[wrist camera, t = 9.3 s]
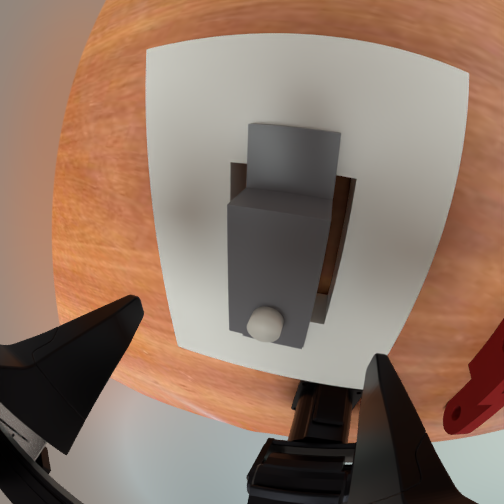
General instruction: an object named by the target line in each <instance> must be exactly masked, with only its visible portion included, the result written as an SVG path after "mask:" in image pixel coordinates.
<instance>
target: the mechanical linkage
mask: <svg viewBox="0 0 504 504" xmlns="http://www.w3.org/2000/svg"><path fill="white" fill-rule="evenodd" d="M468 366H469V370H470V374H471V380H470V381H469V382H468V383H467V384H466V385H465V386H464V387H463V388H462V389H461V390H460V391H459V392H458V393H457V394H456V395H455V396H454V397H453V398H452V399H451V400H450V401H449V402H448V403H447V406H446V408H445V411H444V416H443V426H444V429H445V431H446V432H447V433H448V434H450V435H455V434H468V433H470V432H472V431H473V430H475V429H476V428H477V427H479V426H480V425H481V424H483V423H484V422H485V421H486V420H488V419H489V418H490V417H491V416H493V415H494V414H495V413H496V412H497V411H499V410H500V409H501V408H502V407H503V406H504V319H503V320H502V322H501V323H500V325H499V326H498V328H497V329H496V330H495V332H494V333H493V334H492V336H491V337H490V338H489V340H488V341H487V342H486V344H485V345H484V346H483V348H482V349H481V350H480V351H479V353H478V354H477V355H476V356H475V357H474V359H473V360H472V361H471V362H470V363H469V364H468Z"/></svg>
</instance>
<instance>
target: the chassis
mask: <svg viewBox="0 0 504 504" xmlns="http://www.w3.org/2000/svg"><path fill="white" fill-rule="evenodd" d="M468 94H469V73H467V72H465V71H463V70H460V69H458V68H455V67H453V66H450V65H448V64H445V63H442V62H440V61H437V60H434V59H431V58H428V57H425V56H422V55H419V54H415V53H412V52H408V51H405V50H401V49H397V48H393V47H389V46H385V45H380V44H376V43H371V42H365V41H360V40H353V39H347V38H340V37H331V36H322V35H309V34H287V33H262V34H240V35H227V36H217V37H209V38H202V39H195V40H189V41H183V42H178V43H173V44H168V45H163V46H159V47H155V48H150V49H147V55H146V128H147V148H148V163H149V175H150V186H151V196H152V205H153V213H154V221H155V229H156V236H157V243H158V249H159V255H160V261H161V267H162V273H163V279H164V284H165V289H166V294H167V299H168V304H169V309H170V313H171V318H172V323H173V327H174V331H175V335H176V340H177V344H178V346H179V347H182V348H185V349H188V350H191V351H194V352H197V353H200V354H203V355H206V356H209V357H213V358H216V359H219V360H223V361H226V362H229V363H233V364H237V365H240V366H244V367H248V368H252V369H256V370H260V371H264V372H268V373H272V374H276V375H281V376H285V377H290V378H295V379H300V380H305V381H310V382H315V383H321V384H327V385H333V386H340V387H346V388H354V389H361V390H363V387H364V381H365V374H366V369H367V367H368V365H369V363H370V361H371V359H372V358H373V356H374V354H376V353H381V354H386V355H388V353H389V352H390V350H391V348H392V346H393V345H394V343H395V341H396V339H397V337H398V335H399V334H400V332H401V330H402V328H403V326H404V324H405V322H406V320H407V318H408V316H409V314H410V312H411V310H412V308H413V305H414V303H415V301H416V299H417V297H418V295H419V292H420V290H421V288H422V285H423V283H424V281H425V278H426V276H427V273H428V271H429V268H430V266H431V263H432V261H433V258H434V255H435V252H436V250H437V247H438V244H439V241H440V238H441V235H442V232H443V229H444V226H445V222H446V219H447V216H448V212H449V209H450V205H451V201H452V197H453V193H454V189H455V185H456V181H457V176H458V171H459V166H460V161H461V155H462V150H463V143H464V136H465V129H466V120H467V109H468ZM251 123H258V124H272V125H284V126H294V127H303V128H312V129H319V130H326V131H333V132H339V133H341V140H340V149H339V157H338V165H337V173H336V175H338V176H344V177H349V178H351V184H350V190H349V196H348V202H347V208H346V213H345V219H344V224H343V229H342V234H341V239H340V244H339V249H338V254H337V258H336V263H335V267H334V272H333V276H332V280H331V284H330V288H329V292H328V295H325V294H320V293H317V294H316V298H315V303H314V307H313V311H312V315H311V319H310V323H309V327H308V331H307V335H306V339H305V343H304V347H302V349H298V348H293V347H289V346H284V345H279V344H275V343H271V342H261V341H258V340H256V339H254V338H250V337H246V336H243V334H242V333H238V332H234V331H230V330H229V305H228V253H227V204H228V203H229V202H231V201H232V200H233V199H234V198H235V197H236V196H237V195H238V194H239V193H241V192H242V191H243V190H244V189H245V188H246V180H247V148H248V124H251Z"/></svg>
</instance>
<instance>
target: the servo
mask: <svg viewBox="0 0 504 504" xmlns="http://www.w3.org/2000/svg"><path fill="white" fill-rule="evenodd" d="M340 140H341V133H339V132H333V131H326V130H319V129H312V128H303V127H294V126H284V125H272V124H258V123H251V124H248V148H247V180H246V188H245V189H244V190H243V191H242V192H241V193H239V194H238V195H237V196H236V197H235V198H234V199H233V200H232V201H231V202H229V203H228V204H227V253H228V305H229V330H230V331H234V332H238V333H242V334H243V336H246V337H250V338H254V339H256V340H258V341H261V342H271V343H275V344H279V345H284V346H289V347H293V348H298V349H302V347H304V343H305V339H306V335H307V331H308V327H309V323H310V319H311V315H312V311H313V307H314V303H315V298H316V294H317V289H318V285H319V280H320V276H321V271H322V266H323V261H324V256H325V251H326V246H327V240H328V235H329V229H330V224H331V215H332V202H333V194H334V188H335V180H336V173H337V165H338V157H339V149H340Z"/></svg>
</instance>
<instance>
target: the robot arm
mask: <svg viewBox="0 0 504 504" xmlns="http://www.w3.org/2000/svg"><path fill="white" fill-rule="evenodd" d="M143 315H144V311H143V307H142V304H141V300H140V298H139V297H138V296H135V295H128V296H125V297H123V298H121V299H119V300H116V301H114V302H112V303H110V304H107V305H105V306H103V307H101V308H98V309H96V310H94V311H92V312H89V313H87V314H85V315H83V316H81V317H78V318H76V319H74V320H72V321H69V322H67V323H65V324H63V325H61V326H59V327H56V328H54V329H52V330H49V331H47V332H45V333H42V334H40V335H37V336H35V337H32V338H29V339H26V340H24V341H21V342H18V343H15V344H12V345H0V489H1V490H2V491H3V493H4V494H5V495H6V496H7V497H8V499H9V500H10V501H11V502H12V503H13V504H83V503H82V502H81V501H79V500H78V499H77V498H75V497H74V496H73V495H71V494H70V493H69V492H68V491H67V490H65V489H64V488H63V487H62V486H61V485H60V484H58V483H57V482H56V481H55V480H54V479H53V478H51V477H50V476H49V475H48V474H49V473H50V471H51V469H50V463H49V457H48V450H47V448H46V447H45V445H46V444H47V443H49V444H51V445H52V446H53V447H55V448H56V449H57V450H59V451H60V452H62V453H63V454H65V455H67V454H68V452H69V450H70V449H71V447H72V445H73V443H74V441H75V439H76V437H77V435H78V433H79V431H80V429H81V428H82V426H83V424H84V422H85V420H86V418H87V416H88V415H89V413H90V411H91V409H92V407H93V406H94V404H95V402H96V400H97V399H98V397H99V395H100V393H101V392H102V390H103V388H104V386H105V385H106V383H107V381H108V380H109V378H110V376H111V375H112V373H113V371H114V370H115V368H116V366H117V365H118V363H119V361H120V360H121V358H122V356H123V355H124V353H125V352H126V350H127V348H128V346H129V344H130V343H131V341H132V339H133V336H134V334H135V332H136V330H137V328H138V326H139V324H140V322H141V320H142V318H143ZM361 397H362V399H361V404H360V411H359V422H358V434H357V442H356V443H348V436H349V429H350V421H351V412H352V409H353V408H354V406H355V405H356V404H357V402H358V401H359V399H360V398H361ZM291 409H293V410H295V415H294V419H293V423H292V426H291V430H290V434H289V437H288V441H285V440H276V439H274V438H268V439H267V442H266V443H265V444H264V446H263V447H262V449H261V451H260V453H259V455H258V457H257V459H256V460H255V462H254V464H253V466H252V468H251V469H250V471H249V473H248V475H247V480H248V482H247V491H248V493H249V499H248V503H247V504H478V503H476V502H474V501H472V500H470V499H468V498H467V497H465V496H464V495H462V494H461V493H460V492H459V491H458V490H457V488H456V487H455V485H454V483H453V482H452V480H451V478H450V476H449V475H448V473H447V471H446V469H445V468H444V466H443V464H442V463H441V460H440V459H439V457H438V455H437V453H436V452H435V449H434V447H433V445H432V443H431V441H430V439H429V437H428V434H427V433H425V432H426V430H425V428H424V426H423V424H422V422H421V420H420V418H419V416H418V414H417V412H416V410H415V407H414V405H413V403H412V401H411V400H410V398H409V396H408V394H407V392H406V390H405V388H404V386H403V384H402V382H401V380H400V378H399V376H398V375H397V373H396V371H395V369H394V367H393V365H392V363H391V362H390V360H389V358H388V356H387V355H386V354H381V353H376V354H374V356H373V358H372V359H371V361H370V363H369V365H368V367H367V369H366V374H365V381H364V387H363V390H361V389H354V388H346V387H340V386H333V385H327V384H321V383H315V382H310V381H305V380H300V383H299V386H298V389H297V392H296V395H295V398H294V401H293V404H292V407H291ZM345 462H353V463H352V465H345Z"/></svg>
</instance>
